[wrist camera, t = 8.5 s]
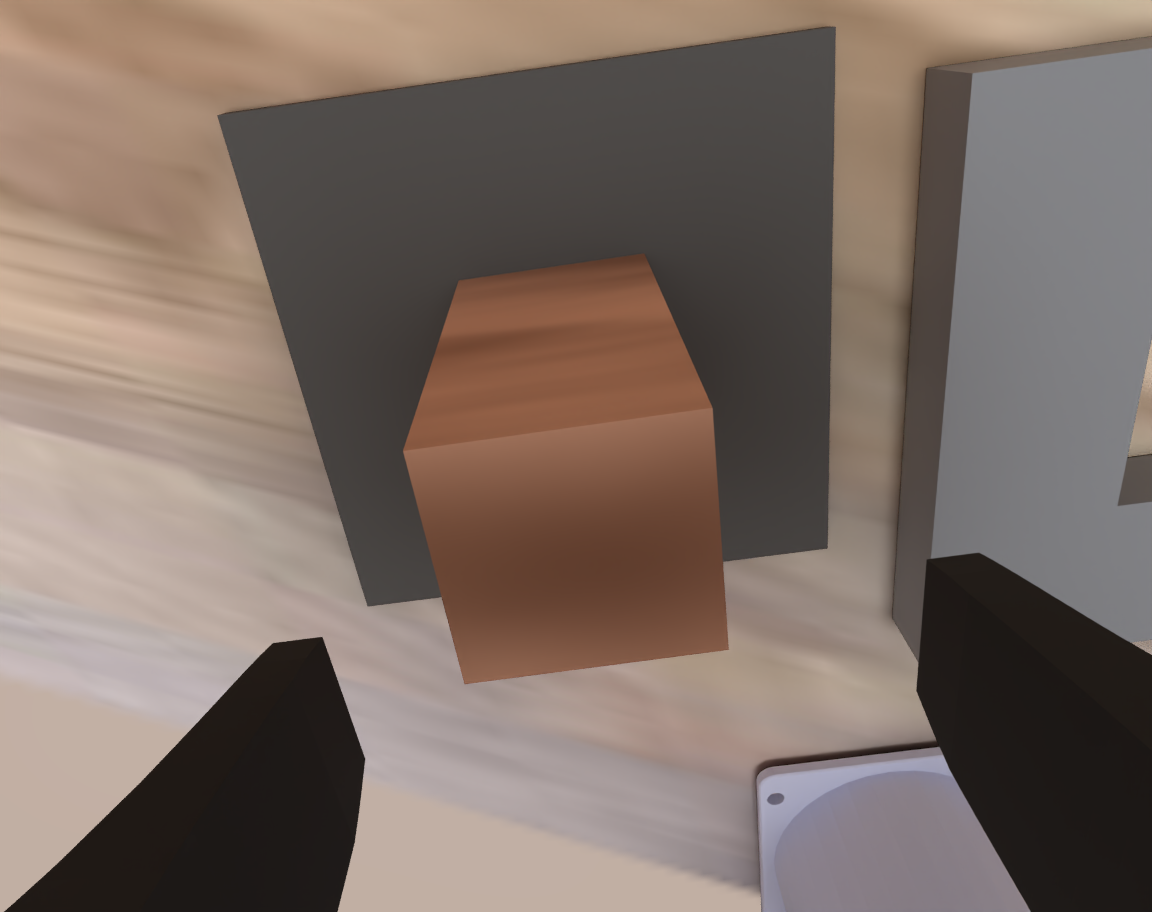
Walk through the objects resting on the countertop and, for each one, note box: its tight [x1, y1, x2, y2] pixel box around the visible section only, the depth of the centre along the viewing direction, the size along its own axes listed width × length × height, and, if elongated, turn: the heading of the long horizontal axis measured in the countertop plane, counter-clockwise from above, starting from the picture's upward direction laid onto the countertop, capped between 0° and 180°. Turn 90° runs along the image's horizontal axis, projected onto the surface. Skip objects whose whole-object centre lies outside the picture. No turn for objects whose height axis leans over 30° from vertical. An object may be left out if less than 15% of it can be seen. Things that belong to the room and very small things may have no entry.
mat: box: [217, 27, 836, 606], centre depth 19 cm, size 12×12×1 cm
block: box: [403, 254, 729, 684], centre depth 15 cm, size 4×4×8 cm
